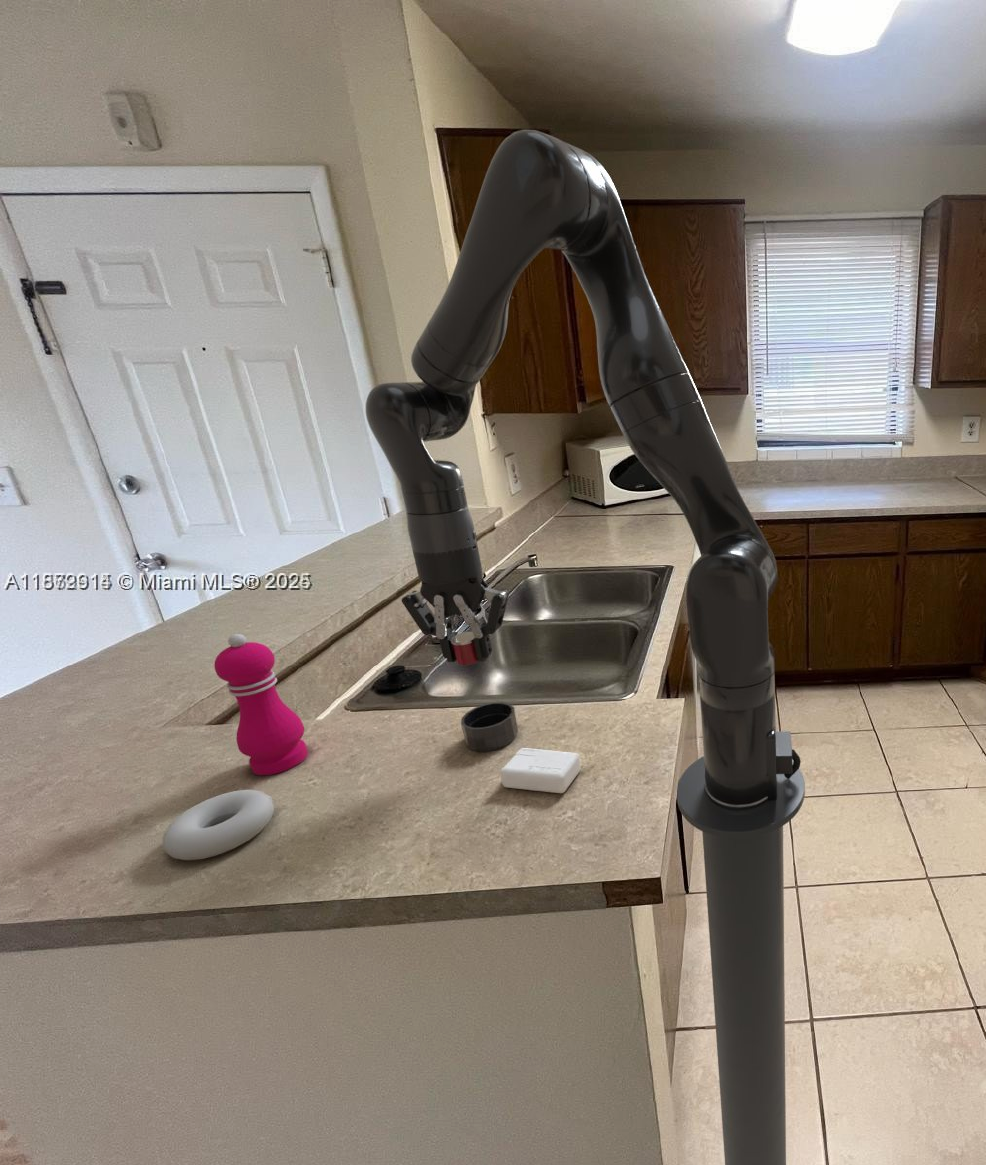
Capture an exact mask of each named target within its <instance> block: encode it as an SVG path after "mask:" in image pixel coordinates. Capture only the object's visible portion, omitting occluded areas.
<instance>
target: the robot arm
mask: <svg viewBox="0 0 986 1165" xmlns="http://www.w3.org/2000/svg"><path fill="white" fill-rule="evenodd" d="M544 249H549V250H554V251H559V252H560V251H561V252H562V254H563V255H564V257H565V258H566V260H567V261H568V263H569V265H570V266H571V268H572V270H573V272H574V274H575V275H576V278H577V280H578V282H579V284H580V286H581V289H582V290H583V292H584V294H585V297H586V298H587V301H588V304H589V306H590V309H591V312H592V313H591V314H592V315H593V320H594V325H595V335H596V336H595V337H596V348H597V350H596V351H597V363H598V364H597V366H598V372H599V373H598V375H599V380H600V384H601V388H602V391H603V394H604V397H605V399H606V402H607V404H608V406H609V407H610V410H611V412H612V414H613V416H614V419H615V421H616V423H617V424H618V427H619V428H620V431H621V433H622V435H623V438H624V440H625V441H626V443H627V445H628V447H629V448H630V449H631V451H632V452H633V454H634V456H635V457H636V458H637V459H638V461H639V462H640V463H641V464H642V466H643V468H645V469H646V470H647V471H648V473H649V474H650V475H651V476H652V477H653V478H654V479H655V480H656V482H658V484H660V485H661V487H662V488H664V490H665V491H666V492H667V493H668V494H669V495H670V496H671V498H672V499H673V500H674V502H675V503H676V504H677V506H678V507H679V509H680V510H681V512H682V514H683V516H684V517H685V520H686V522H687V523H688V526H689V528H690V531H691V533H692V535H693V538H694V540H695V543H696V545H697V548H698V550H699V551H698V552H699V555H700V557H698V559H697V560H695V561H694V563H693V564H692V565H691V567H690V569H689V572H688V574H687V578H686V586H685V599H686V612H687V613H686V614H687V622H688V630H689V631H688V632H689V639H690V640H689V641H690V647H691V652H692V655H693V657H694V659H695V661H696V662H697V670H698V686H699V703H700V717H701V718H700V719H701V731H702V732H701V733H702V734H701V735H702V747H703V748H702V749H703V750H702V752H703V756H704V765H705V791H706V794H707V796H708V797H709V799H710V800H711V801H712V802H714V803H715V804H717V805H719V806H721V807H724V808H727V809H734V810H744V809H750V808H754V807H757V806H759V805H762V804H763V803H765V802H767V801H770V800H776V799H777V776H776V774H784V776H785V777H786V778H788V779H789V778H790V777H791V776H792V775H793V774H794V773H796V772H797V770H798V769H799V770H800V768H801V763H802V762H801V757H800V756H799V754H798V753H797V752H796V750H795V749H793V747H792V732H791V730H790V731H789V730H788V731H787V730H786V731H785V730H784V731H777V730H776V729H777V728H776V727H777V726H776V725H777V724H776V683H775V682H776V680H775V679H776V678H775V676H776V675H775V674H776V673H775V668H776V666H775V665H776V662H775V660H776V659H775V658H776V657H775V649H774V647H773V645H772V644H771V643H770V637H769V636H770V635H769V600H770V599H771V596H772V595H773V593H774V592H775V589H776V586H777V582H778V576H779V575H778V574H779V573H778V572H779V570H778V564H777V559H776V557H775V554H774V553H773V550H772V548H771V546H770V544H769V543H768V541H767V539H766V537H765V535H764V534H763V532H762V530H761V529H760V527H759V526H758V523H757V522H756V520H755V518H754V517H753V515H752V513H751V511H750V510H749V508H748V506H747V504H746V503H745V501H744V499H743V496H742V495H741V493H740V491H739V489H738V487H737V485H736V483H735V480H734V478H733V475H732V473H731V470H730V468H729V465H728V462H727V460H726V457H725V454H724V451H723V449H722V447H721V445H720V442H719V440H718V437H717V435H716V433H715V431H714V428H713V426H712V424H711V421H710V418H709V416H708V414H707V411H706V408H705V406H704V404H703V401H702V398H701V396H700V394H699V391H698V389H697V387H696V385H695V383H694V380H693V378H692V376H691V373H690V371H689V369H688V367H687V364H686V363H685V361H684V358H683V356H682V355H681V352H680V350H679V348H678V345H677V343H676V341H675V338H674V337H673V334H672V333H671V330H670V327H669V325H668V323H667V321H666V319H665V316H664V313H663V312H662V310H661V308H660V305H659V303H658V301H657V299H656V296H655V295H654V292H653V290H652V288H651V285H650V283H649V281H648V278H647V276H646V273H645V271H644V267H643V264H642V262H641V259H640V256H639V252H638V249H637V247H636V243H635V241H634V238H633V235H632V232H631V228H630V225H629V223H628V220H627V217H626V214H625V210H624V208H623V205H622V202H621V199H620V195H619V193H618V191H617V189H616V187H615V184H614V182H613V180H612V178H611V176H610V175H609V173H608V171H607V170H606V169H605V167H604V166H603V165H602V163H600V162H599V161H598V160H597V159H596V158H595V157H594V156H593V155H592V154H590V153H589V152H587V151H585V150H583V149H581V148H580V147H576V145H572V144H570V143H568V142H565V141H563V140H561V139H559V138H557V137H555V136H553V135H551V134H547V133H545V132H542V131H539V130H536V129H521V130H517V131H514V132H512V133H511V134H510V135H509V136H507V137H506V138H504V139H503V141H502V142H501V144H500V145H499V146H498V148H497V149H496V150H495V153H494V155H493V157H492V159H491V161H490V164H489V165H488V168H487V171H486V172H485V176H484V179H483V182H482V185H481V188H480V191H479V194H478V197H477V200H476V204H475V206H474V210H473V212H472V216H471V219H470V222H469V225H468V228H467V230H466V233H465V236H464V239H463V242H462V245H461V249H460V252H459V255H458V258H457V261H456V264H455V266H454V270H453V272H452V275H451V277H450V279H449V283H448V285H447V287H446V289H445V291H444V293H443V295H442V298H441V299H440V301H439V303H438V305H437V307H436V309H435V310H434V312H433V314H432V315H431V317H430V319H429V321H428V322H427V324H426V326H425V328H424V329H423V331H422V333H421V335H420V336H419V338H418V340H417V341H416V343H415V345H414V347H413V349H412V352H411V356H410V364H411V366H412V370H413V371H414V373H415V375H416V376H417V377H418V378H419V380H421V381H406V382H405V381H404V382H403V381H402V382H401V381H400V382H398V381H397V382H384V383H379V384H377V385H376V386H374V387H373V388H372V389H371V390H370V391H369V392H368V394H367V397H366V401H365V417H366V421H367V423H368V427H369V429H370V431H371V433H372V435H373V436H374V439H375V440H376V442H377V443H378V446H379V448H380V449H381V451H382V452H383V454H384V456H385V458H386V460H387V462H388V464H389V465H390V467H391V469H392V471H393V473H394V475H395V477H396V478H397V480H398V483H399V488H400V492H401V498H402V502H403V505H404V511H405V514H406V515H405V516H406V525H407V526H406V527H407V533H408V537H409V538H408V539H409V541H410V547H411V550H412V554H413V558H414V563H415V567H416V572H417V576H418V579H419V581H420V582H421V585H420V588H419V590H412V591H411V592H409V593H408V594H406V595H405V596H403V597H402V598H401V603H402V605H403V606H404V608H405V609H406V610H407V612H408V614H409V615H410V616H411V618H412V619H413V621H414V622H415V624H416V626H417V627H418V629H419V630H420V631H421V633H422V634H423V635H425V636H430V635H431V636H435V637H436V639H438V641H439V645H440V650H441V654H442V656H443V658H444V659H446V661H447V663H455V662H456V657H455V653H454V648H453V644H451V643H450V639H451V638H452V637H453V636H455V635H457V634H456V633H457V632H453V631H454V630H455V629H454V628H455V627H454V626H455V625H454V624H455V617H456V616H460V617H462V618H463V621H464V622H465V624H466V625H468V626H469V628H470V631H471V632H472V633H473V635H474V636H475V638H474V639H473V641H474V646H475V650H476V655H477V660H478V662H477V663H483V662H486V660H488V658H489V657H490V656H491V654H492V653H493V647H492V642H491V637H490V635H493V634H495V633H496V631H497V630H498V629H500V627H502V626H503V621H504V616H505V613H506V610H507V609H506V608H507V604H508V600H509V595H510V592H509V591H508V589H505V588H503V589H501V590H497V589H494V588H491V587H489V584H488V583H487V582H486V580H485V579H484V578H483V567H482V561H481V556H480V551H479V547H478V546H479V545H478V541H477V540H478V539H477V533H476V530H475V525H474V521H473V518H472V516H471V512H470V510H469V506H468V501H467V495H466V491H465V485H464V480H463V476H462V472H461V470H460V468H459V466H458V465H457V464H456V463H455V462H453V461H449V460H446V459H445V460H443V459H434V458H433V457H432V456H431V454H430V452H429V450H428V449H427V447H426V445H425V443H427V442H432V441H433V442H435V441H442V440H447V439H450V438H452V437H454V436H456V435H457V433H459V432H460V431H461V430H462V429H463V428H464V426H465V425H466V423H467V421H468V418H469V416H470V412H471V409H472V405H473V401H474V398H475V392H476V387H477V385H478V383H479V382H480V381H481V379H482V378H483V377H484V375H485V374H486V372H487V370H488V369H489V367H490V366H491V365H492V363H493V362H494V360H495V358H496V357H497V356H498V354H499V352H500V350H501V348H502V346H503V343H504V341H505V337H506V334H507V329H508V319H509V308H510V307H509V306H510V299H511V296H512V292H513V290H514V288H515V285H516V283H517V281H518V279H519V278H520V276H521V275H522V273H523V272H524V271H525V269H526V268H527V267H528V266H529V264H530V263H531V262H532V261H533V260H534V259H535V258H536V257H537V256H538V254H539V253H541V252H542V251H543V250H544ZM484 598H487V605H488V606H490V608H489V612H488V617H487V616H486V609H485V608H484V605H483V603H482V602H483V600H484ZM427 602H428V603H429V605H431V606H432V607H433V608H434V612H433V611H432V609H431V608H430V606H429V605H428V604H427ZM792 762H793V765H792Z"/></svg>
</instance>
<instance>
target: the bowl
mask: <svg viewBox="0 0 986 1165" xmlns="http://www.w3.org/2000/svg"><path fill="white" fill-rule="evenodd" d="M460 720H461V721H460V725H461V730H462V734H463V738H464V743H465V745H466V746H467V747H468V748H469V749H470V750H471V751H473V752H477V753H479V752H480V753H484V752H485V753H486V752H492V751H496V750H499V749H501V748H504V747H506V746H508V745H509V744H511V743H512V742H513V741H514V740H515V739H516V738H517V736H518V733H519V726H518V724H519V723H518V720H517V715H516V709H515V707H514V706H513V705H512V704H511V703H508V702H503V701H500V702H499V701H497V702H496V701H495V702H489V703H484V704H482V705H481V704H480V705H478V706H476V707H474V708H471V710H469V711H467V712H466V713H465V714H464V715H463V716H462V717H461V719H460Z"/></svg>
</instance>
